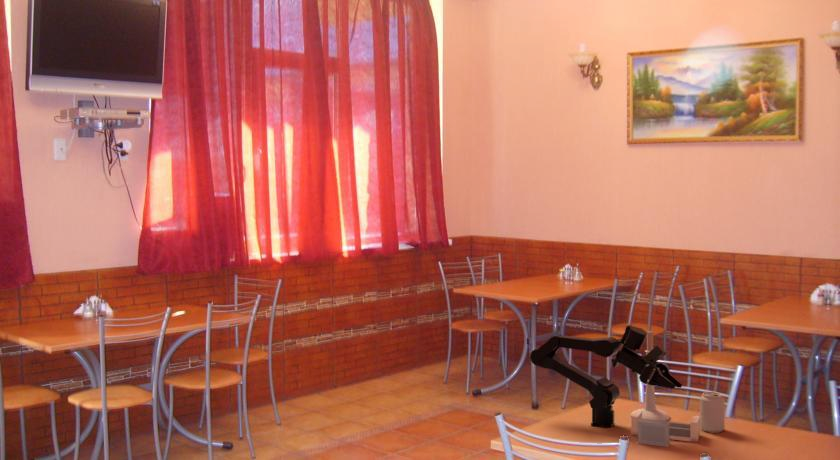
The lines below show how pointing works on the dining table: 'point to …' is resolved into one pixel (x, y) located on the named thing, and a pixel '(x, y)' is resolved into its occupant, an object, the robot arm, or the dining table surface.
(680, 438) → the track
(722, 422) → the can
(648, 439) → the grey rectangular block
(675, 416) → the dining table surface
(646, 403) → the candlestick
